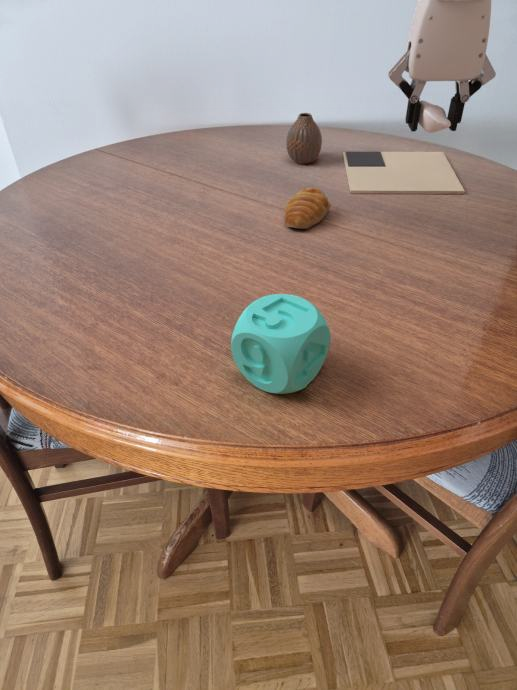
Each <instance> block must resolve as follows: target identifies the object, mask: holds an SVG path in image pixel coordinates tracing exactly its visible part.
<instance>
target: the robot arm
mask: <svg viewBox="0 0 517 690" xmlns="http://www.w3.org/2000/svg"><path fill="white" fill-rule="evenodd" d="M412 16H413V17H412V20H411V24H410V29H409V33H408V38H407V44H406V47H405V53H404V54H403V55H402V56H401V57H400V59H399V60H398V61H397V62H396V63H395V64H394V66H393V67H392V68H391V69H390V70H389V71H388V73H387V76H388V78H389V79H390V81H391V82H392V83H393V84H394V85H396V86H397V88H399V89H400V90H401V92H402V93H403V94H404V96H405V97H406V98H407V99H408V100H407V105H406V113H405V123H406V124H407V126H408V127H409V129H410V131H411V132H416V131H417V130H418V128H419V127H418V126H419V123H418V121H419V115H420V109H421V103H420V102H419V101H421V100H420V99H421V98H420V97H421V95H422V92H423V90H424V88H425V86H426V83H427V82H454V86H455V93H454V96H452V97H451V98H450V103H449V108H448V113H447V116H446V117H447V118H448V120H449V121H450V123H451V126H450V127H448V129H449V131H451V132H456V131H457V127H458V124H460V123H461V122H462V119H463V114H464V109H465V106H466V103H468V101H469V100H470V98H471V97H472V96H473V95H475V94H476V93H477V92H478V91H479V90H480V89H481V88H482V87H483V86H485V85H486V84H488V83H489V82H490V81H492V80H493V79H494V78H495V77H496V75H497V73H496V71H495V69H494V66H493V65H492V63H491V61H490V59H489V57H488V56H487V47H488V42H489V37H490V36H489V35H490V27H491V18H492V17H491V16H492V0H417V3H416V6H415V10H414V12H413V15H412ZM404 72H406V73H408V77H409V78H410V79H411V82H410V83H409V82H408V81H407V80H406V79H405V78H404V77H403V74H404Z"/></svg>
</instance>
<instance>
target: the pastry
mask: <svg viewBox="0 0 517 690" xmlns="http://www.w3.org/2000/svg"><path fill="white" fill-rule="evenodd" d="M331 207H332V205H331V202H330V201H329V199H328V197H327V195H326V194H325V192H324V191H323V190H321V189H320V188H316V187H307V188H302V189H301V190H299V191H297V193H296V194H295V195H293V196H292V197H291V198H290V199H289V200H288V202H287V204H286V206H285V209H284V223H285V226H286V227H287V228H294V229H299V230H301V229H302V230H305V229H306V230H307V229H310V228H311V227H312V226H315V225H317V224H319V223H320V222H321V221H322V220H323V219H324V218H325V217H326V216H327V215H328V212H329V211H330V209H331Z"/></svg>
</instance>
